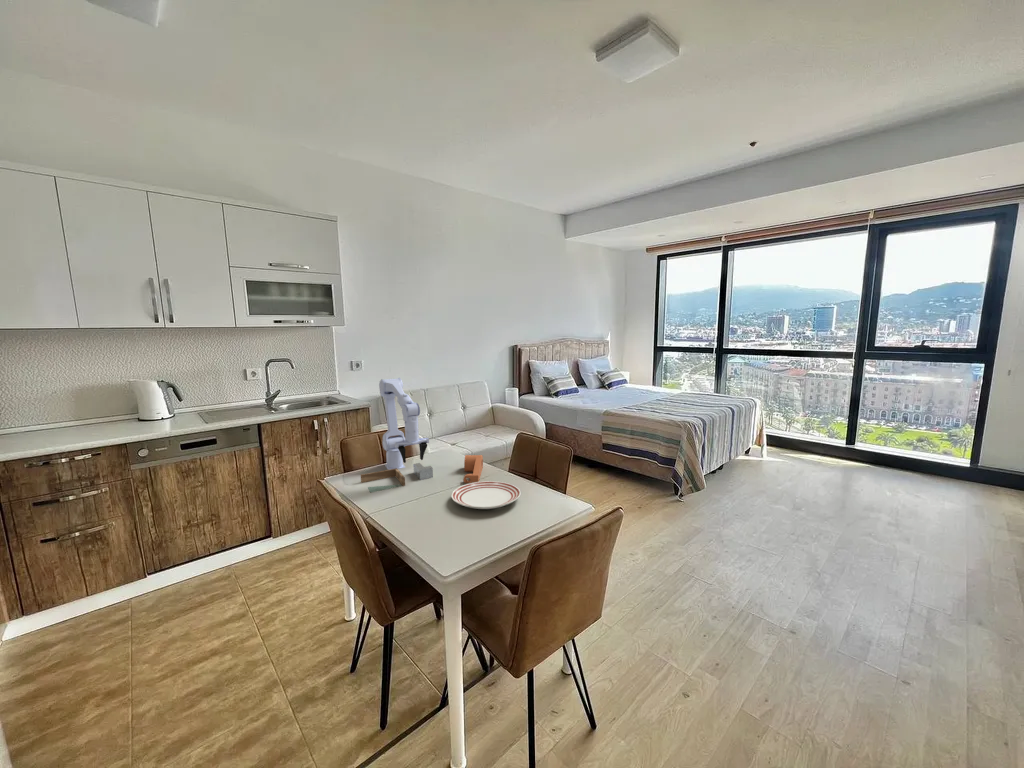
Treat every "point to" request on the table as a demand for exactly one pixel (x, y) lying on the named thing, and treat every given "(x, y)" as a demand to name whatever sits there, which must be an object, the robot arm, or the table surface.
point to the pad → (381, 488)
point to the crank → (473, 468)
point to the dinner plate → (486, 494)
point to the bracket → (423, 471)
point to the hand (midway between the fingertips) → (413, 460)
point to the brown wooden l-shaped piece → (383, 476)
